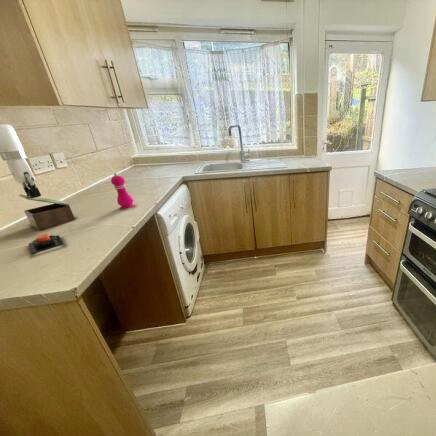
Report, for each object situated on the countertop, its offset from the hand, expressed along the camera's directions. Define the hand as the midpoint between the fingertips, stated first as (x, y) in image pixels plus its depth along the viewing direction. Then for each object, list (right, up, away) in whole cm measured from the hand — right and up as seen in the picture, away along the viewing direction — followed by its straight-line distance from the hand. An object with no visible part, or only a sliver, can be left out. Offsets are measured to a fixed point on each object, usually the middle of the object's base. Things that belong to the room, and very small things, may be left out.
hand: (34, 195), depth 111 cm
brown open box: (+2, -13, +8) cm, 15 cm away
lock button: (+22, -19, -17) cm, 33 cm away
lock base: (+22, -22, -15) cm, 35 cm away
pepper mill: (+27, -5, +23) cm, 36 cm away
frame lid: (+1, -2, +3) cm, 4 cm away
